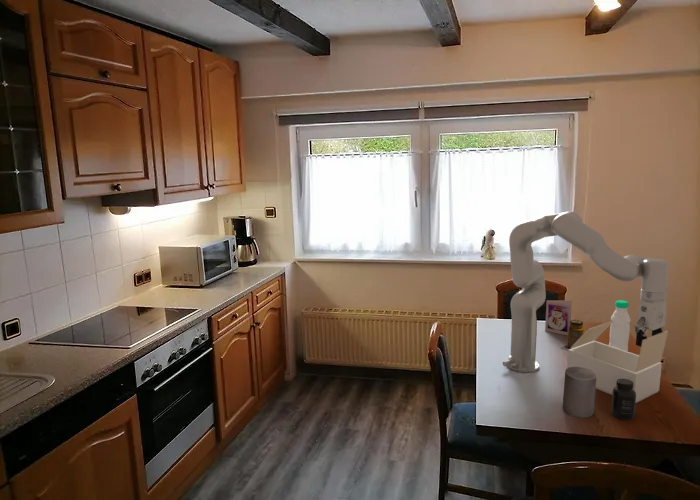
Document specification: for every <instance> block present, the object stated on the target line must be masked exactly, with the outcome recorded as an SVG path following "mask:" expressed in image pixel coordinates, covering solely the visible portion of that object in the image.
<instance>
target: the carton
mask: <svg viewBox="0 0 700 500" xmlns="http://www.w3.org/2000/svg"><path fill="white" fill-rule="evenodd" d="M567 351H568V353H567V354H568V355H567V365H566V366H567V368H569V367H584V368H587V369H590V370H592V371H594V372H595V373H596V375H597V378H596V390H598V391H601V392H603V393H606V394H608V395H611V396H612V394H613V389H614V387H616V384H617V380H618V379H621V378H624V379H629V380H631V381H633V389H634V390H635V392H636V404H637V403H639V402H641V401H643V400H645V399H647V398H649V397H651V396H654V395H655V394H657V393H659V392H660V386H661V374H662V365H663V363H662V362H661V361H659V362H657V363H655V364H653V365H650V366H648V367H646V368H644V369H641V370H639V371H636V368H637V363H638V359H639V354H636V353H634V352H629V351H624V350H621V349H618V348H615V347H612V346H609V344H606V343H603V342H600V341H597V340H594V341H591V342H588V343H585V344H583V345H580V346H577V347H575V348H572V349H569V350H567ZM567 368H566V369H567ZM658 391H659V392H658Z"/></svg>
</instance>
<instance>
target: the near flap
mask: <svg viewBox="0 0 700 500" xmlns="http://www.w3.org/2000/svg"><path fill="white" fill-rule="evenodd" d="M668 334H669V331H668V330H665V331H662V333H659V334H657V335H654V336H652V335H651V336H649V337H647V339H644V340H643V341H642V345H641V347H640V349H639V350H640V351H639V354H638V355H639V359H638V363H637V368H636V371H639V370H641V369H644V368H646V367H648V366H650V365H653V364H655V363H657V362H661V361H662V359H663V356H664V350H665V346H666V343H667V342H666V341H667V337H668Z"/></svg>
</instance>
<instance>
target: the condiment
mask: <svg viewBox="0 0 700 500" xmlns="http://www.w3.org/2000/svg"><path fill="white" fill-rule="evenodd" d="M584 330H585V329H584V321H582V320H581V319H580V320H579V319H571V321H570V326H569V328H568V335H567V344H565V345H562V347H561V349H563V350H565V351H566V350H567V351H568V350H569V349H571V347H572V345H573V344H574V343H575V342H576V341H577V340H578V339H579V338H580V337H581V336H582V335H583V334H584V332H585V331H584ZM574 348H575V347H574Z"/></svg>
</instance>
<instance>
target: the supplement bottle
mask: <svg viewBox="0 0 700 500" xmlns="http://www.w3.org/2000/svg"><path fill="white" fill-rule="evenodd" d="M611 396H612V397H611V409H610V412H611V414H612V416H613V417H615V418H616V419H618V420H622V419H623V420H624V421H631V420H633V419H634V418H635V415H636V404H637V403H636V392H635V390H634V389H633V381H631V380H629V379H624V378H621V379H618V380H617V384H616V387H614V389H613V394H612V395H611Z"/></svg>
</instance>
